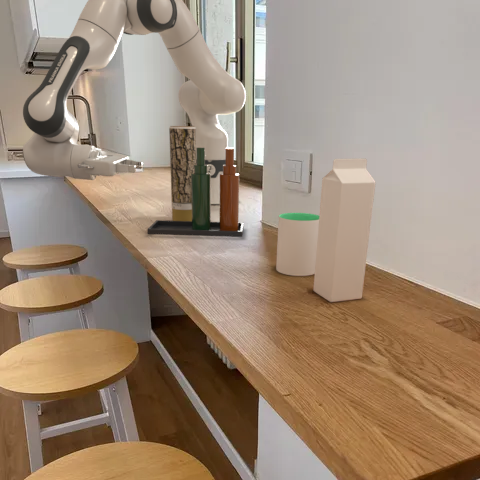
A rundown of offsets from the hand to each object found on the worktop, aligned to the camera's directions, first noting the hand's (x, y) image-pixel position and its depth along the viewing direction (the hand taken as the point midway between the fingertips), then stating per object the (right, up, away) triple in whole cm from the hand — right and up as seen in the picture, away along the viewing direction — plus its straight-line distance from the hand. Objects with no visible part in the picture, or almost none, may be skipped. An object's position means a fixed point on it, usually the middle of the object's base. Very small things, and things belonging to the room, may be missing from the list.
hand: (139, 167), depth 132 cm
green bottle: (+17, -18, -6) cm, 26 cm away
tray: (+16, -19, -6) cm, 25 cm away
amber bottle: (+24, -18, -6) cm, 31 cm away
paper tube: (+12, -14, +5) cm, 19 cm away
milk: (+43, -37, -48) cm, 74 cm away
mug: (+40, -31, -34) cm, 61 cm away
